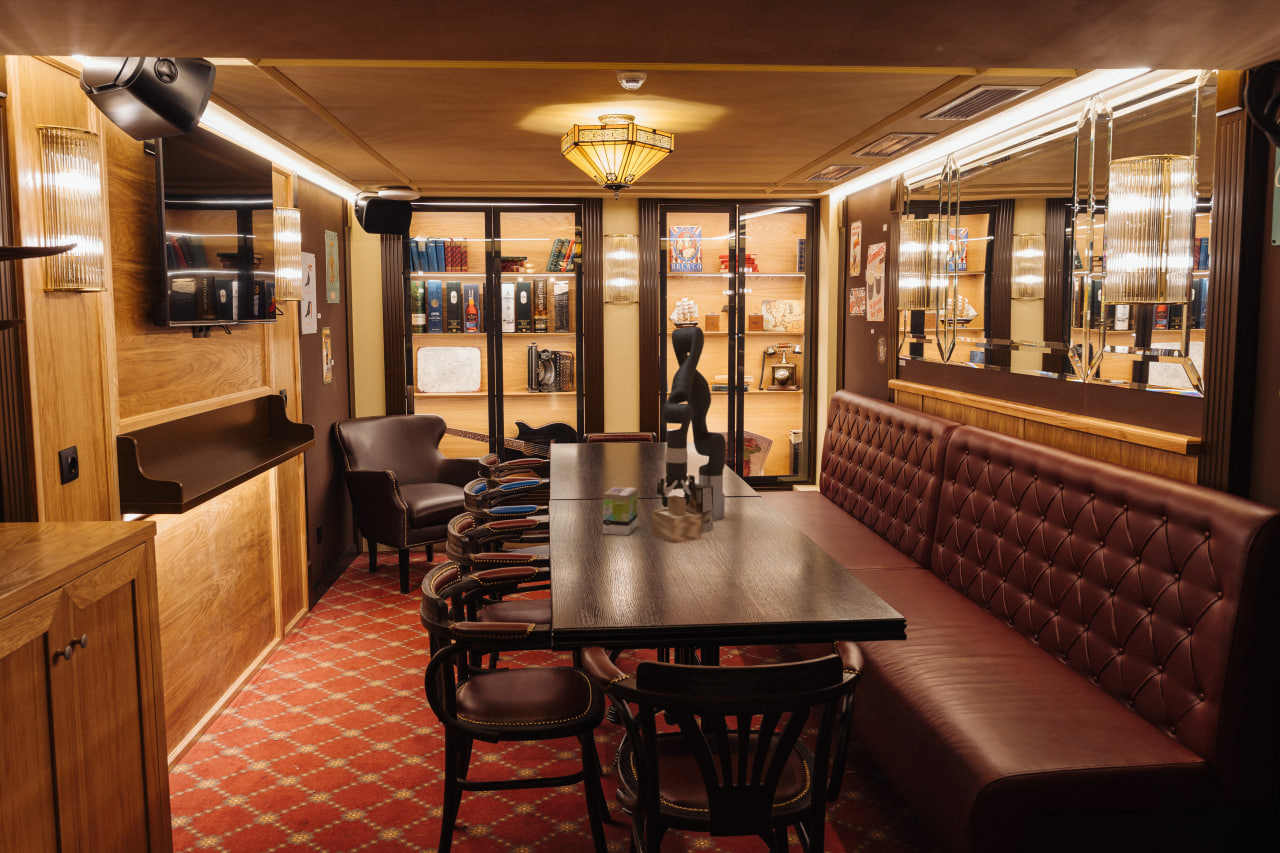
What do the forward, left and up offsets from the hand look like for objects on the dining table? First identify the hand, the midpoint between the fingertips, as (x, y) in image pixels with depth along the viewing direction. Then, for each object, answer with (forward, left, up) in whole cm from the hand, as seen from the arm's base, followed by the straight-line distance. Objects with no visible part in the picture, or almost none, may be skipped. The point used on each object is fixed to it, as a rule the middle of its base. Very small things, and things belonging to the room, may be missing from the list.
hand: (675, 505), depth 311 cm
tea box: (+13, -18, -11) cm, 25 cm away
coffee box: (-13, -6, -11) cm, 18 cm away
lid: (0, 0, -4) cm, 4 cm away
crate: (0, 0, -11) cm, 11 cm away
